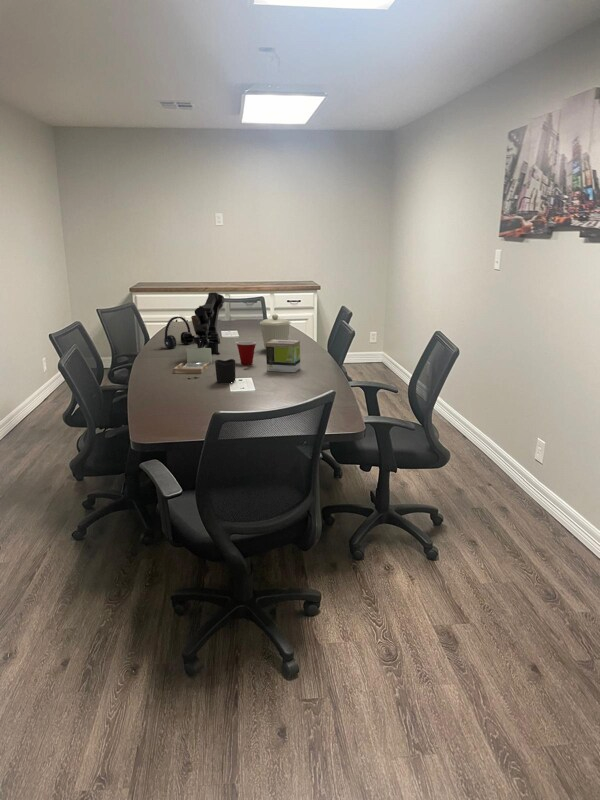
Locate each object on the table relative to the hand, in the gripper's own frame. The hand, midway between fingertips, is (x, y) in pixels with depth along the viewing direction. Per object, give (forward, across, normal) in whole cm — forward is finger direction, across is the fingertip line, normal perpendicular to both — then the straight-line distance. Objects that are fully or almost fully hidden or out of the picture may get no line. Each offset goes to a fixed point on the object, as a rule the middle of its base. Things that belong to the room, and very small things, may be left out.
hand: (199, 351), depth 290 cm
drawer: (+10, 0, 0) cm, 10 cm away
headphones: (-28, -26, +38) cm, 54 cm away
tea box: (+12, +46, -1) cm, 47 cm away
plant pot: (-40, -15, +50) cm, 66 cm away
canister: (-22, +35, +32) cm, 53 cm away
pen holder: (+29, +22, -18) cm, 40 cm away
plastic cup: (+4, +25, +7) cm, 26 cm away
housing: (+17, 0, -6) cm, 18 cm away
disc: (+10, 0, -1) cm, 10 cm away
